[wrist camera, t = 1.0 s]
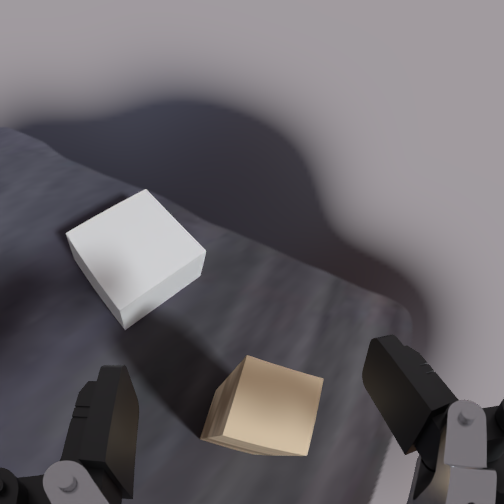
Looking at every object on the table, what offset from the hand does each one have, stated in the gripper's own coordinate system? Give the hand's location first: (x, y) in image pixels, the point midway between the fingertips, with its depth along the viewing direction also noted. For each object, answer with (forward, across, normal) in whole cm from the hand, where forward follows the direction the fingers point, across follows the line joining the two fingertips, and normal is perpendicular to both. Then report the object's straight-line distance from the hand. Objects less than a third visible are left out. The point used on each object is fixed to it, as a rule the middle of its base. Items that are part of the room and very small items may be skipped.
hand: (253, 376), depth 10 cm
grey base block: (+24, +9, +7) cm, 26 cm away
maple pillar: (+11, 0, +17) cm, 20 cm away
